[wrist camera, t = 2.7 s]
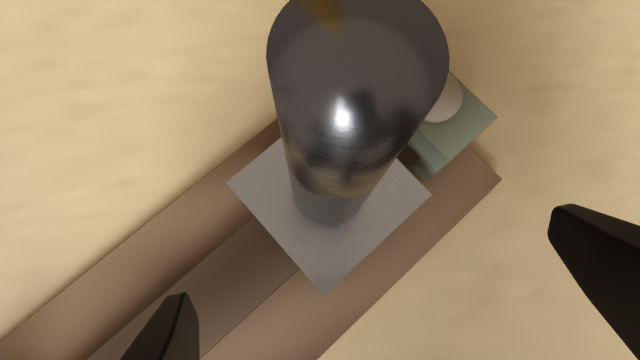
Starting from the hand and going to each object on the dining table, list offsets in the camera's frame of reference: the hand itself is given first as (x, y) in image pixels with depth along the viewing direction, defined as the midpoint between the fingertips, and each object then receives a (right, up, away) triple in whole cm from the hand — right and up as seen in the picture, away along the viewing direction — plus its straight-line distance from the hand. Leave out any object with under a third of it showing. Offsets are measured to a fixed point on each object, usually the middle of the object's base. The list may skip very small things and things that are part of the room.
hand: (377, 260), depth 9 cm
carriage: (-1, +1, +8) cm, 8 cm away
